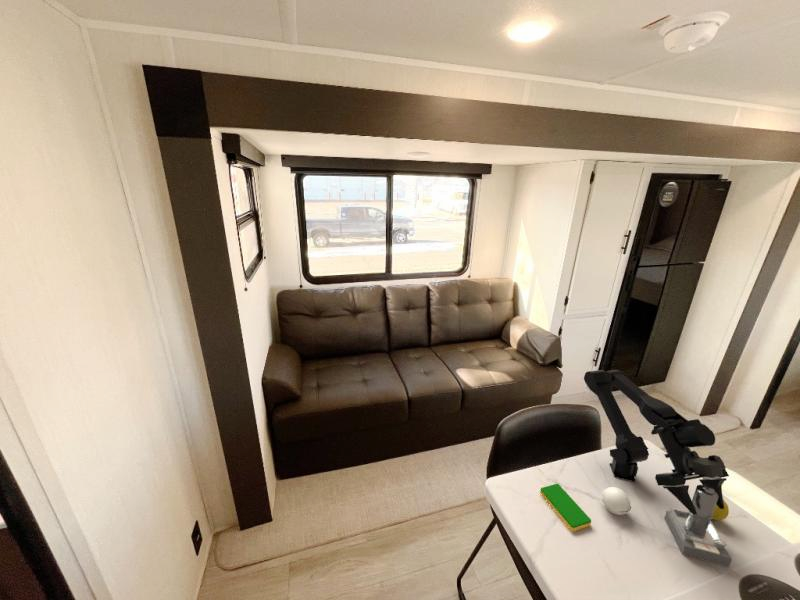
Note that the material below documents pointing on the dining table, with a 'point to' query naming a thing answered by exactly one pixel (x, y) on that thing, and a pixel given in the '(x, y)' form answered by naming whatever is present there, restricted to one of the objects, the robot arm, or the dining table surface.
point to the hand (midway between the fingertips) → (708, 511)
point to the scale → (697, 540)
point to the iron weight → (702, 509)
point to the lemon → (720, 512)
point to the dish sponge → (565, 507)
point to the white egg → (616, 501)
